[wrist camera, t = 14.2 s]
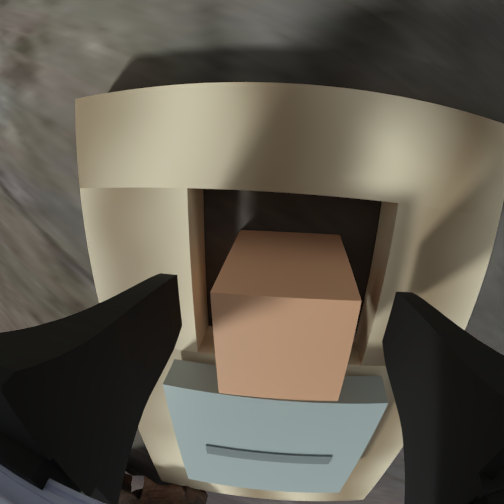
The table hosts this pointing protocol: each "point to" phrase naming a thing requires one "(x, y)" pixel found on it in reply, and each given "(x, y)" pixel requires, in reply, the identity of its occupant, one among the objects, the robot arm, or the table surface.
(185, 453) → the lid
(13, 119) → the table surface
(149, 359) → the robot arm
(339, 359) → the block
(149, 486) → the brown broken pot
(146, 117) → the light wood flat board
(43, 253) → the table surface
